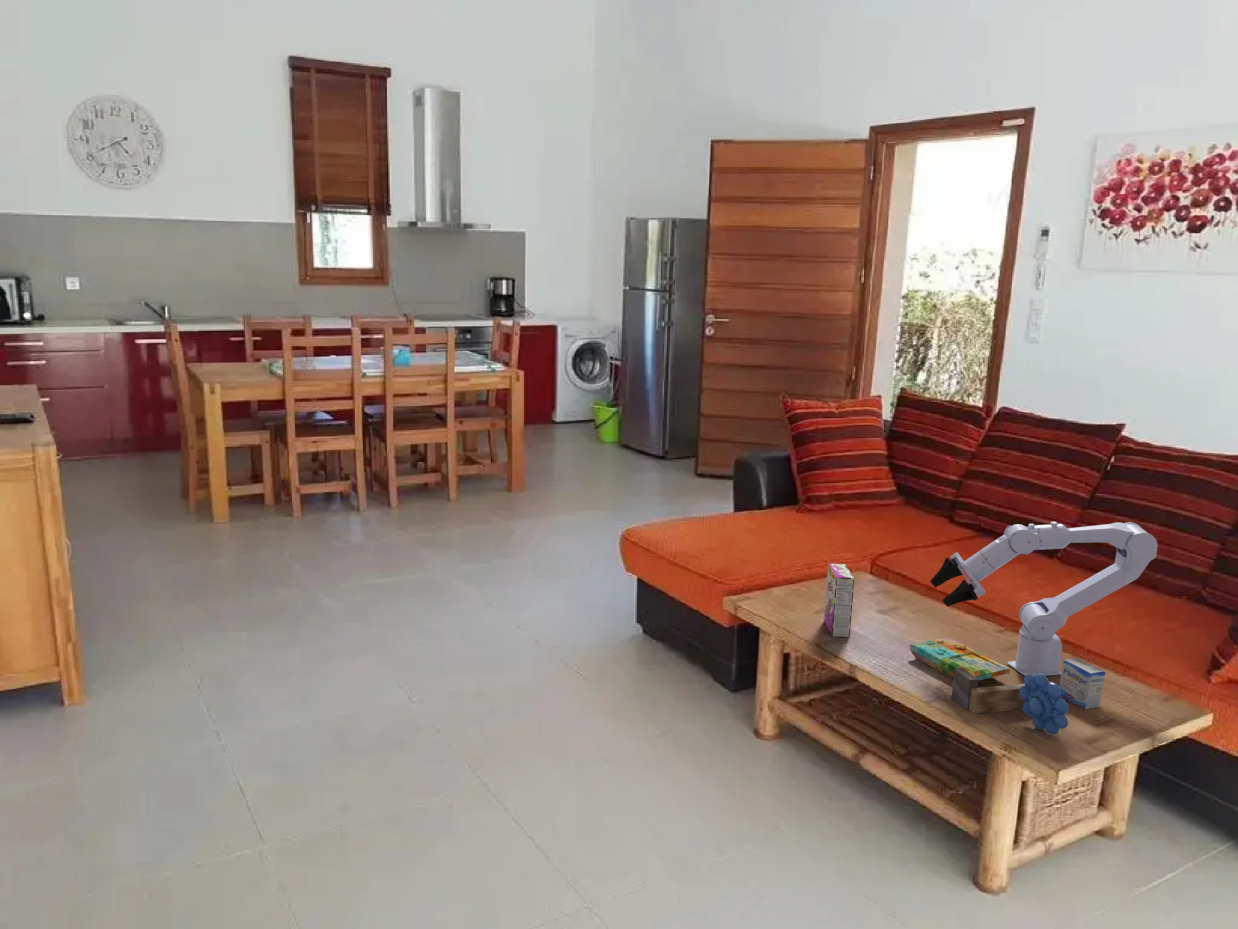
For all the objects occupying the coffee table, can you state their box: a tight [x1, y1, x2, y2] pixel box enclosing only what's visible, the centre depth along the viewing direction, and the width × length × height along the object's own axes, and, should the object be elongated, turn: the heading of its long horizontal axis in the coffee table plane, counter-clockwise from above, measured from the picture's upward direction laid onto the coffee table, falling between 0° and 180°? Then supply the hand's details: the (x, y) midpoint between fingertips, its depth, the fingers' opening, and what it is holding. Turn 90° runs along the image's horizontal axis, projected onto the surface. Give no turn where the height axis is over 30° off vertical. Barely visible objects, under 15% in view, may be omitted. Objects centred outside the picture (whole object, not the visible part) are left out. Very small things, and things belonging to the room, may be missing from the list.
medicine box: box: [1058, 657, 1106, 710], centre depth 215 cm, size 8×4×9 cm, turn 22°
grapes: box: [1019, 674, 1070, 736], centre depth 200 cm, size 12×7×12 cm, turn 30°
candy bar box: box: [823, 563, 855, 638], centre depth 251 cm, size 11×5×16 cm, turn 179°
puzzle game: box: [909, 636, 1011, 681], centre depth 230 cm, size 12×5×20 cm
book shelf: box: [951, 668, 1054, 715], centre depth 213 cm, size 20×8×7 cm, turn 103°
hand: (938, 593), depth 231 cm, fingers open, 7 cm apart
